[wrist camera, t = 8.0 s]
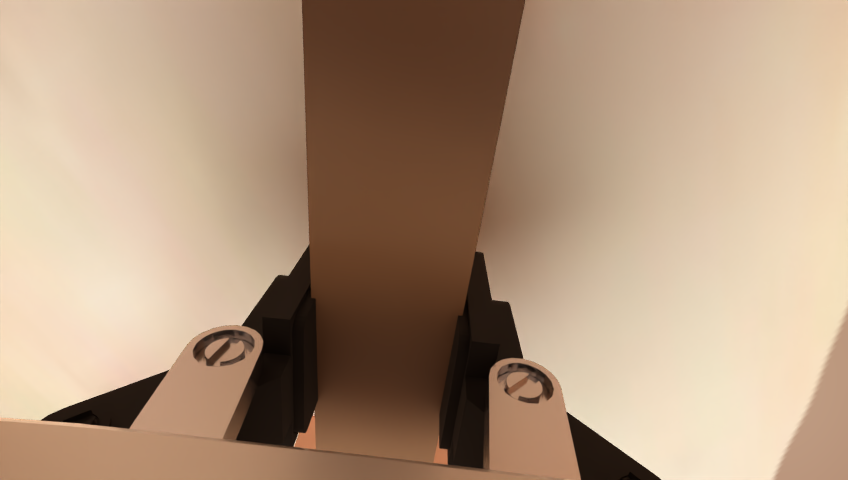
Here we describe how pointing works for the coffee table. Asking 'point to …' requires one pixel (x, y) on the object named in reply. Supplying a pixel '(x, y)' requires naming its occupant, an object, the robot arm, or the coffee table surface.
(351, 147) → the stick
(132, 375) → the coffee table surface
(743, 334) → the coffee table surface
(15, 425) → the robot arm
